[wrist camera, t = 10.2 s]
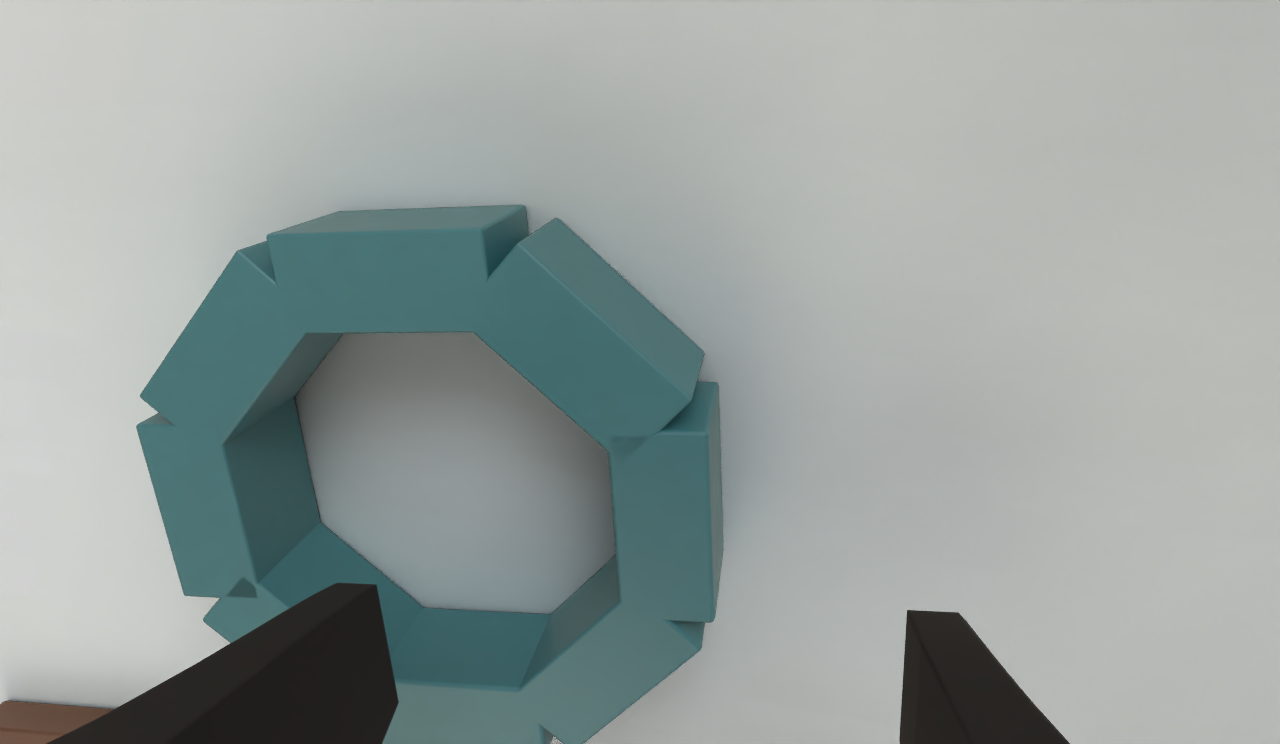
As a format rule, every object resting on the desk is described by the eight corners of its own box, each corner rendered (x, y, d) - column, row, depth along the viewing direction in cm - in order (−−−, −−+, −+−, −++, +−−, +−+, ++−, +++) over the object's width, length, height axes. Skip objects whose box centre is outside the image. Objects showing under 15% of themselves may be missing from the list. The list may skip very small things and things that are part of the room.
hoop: (727, 687, 18) (719, 774, 16) (285, 658, 20) (221, 733, 17) (714, 198, 14) (701, 221, 12) (177, 216, 16) (81, 239, 14)
